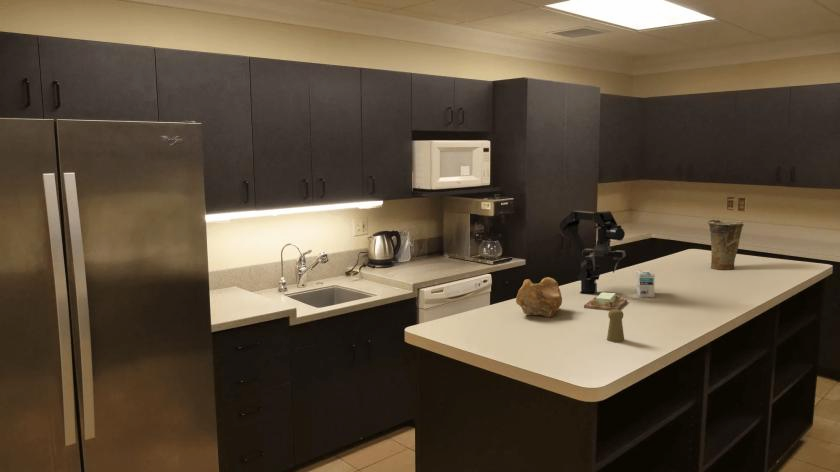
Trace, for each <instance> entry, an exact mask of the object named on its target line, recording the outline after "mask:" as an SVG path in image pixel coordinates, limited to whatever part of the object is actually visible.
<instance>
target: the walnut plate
mask: <svg viewBox="0 0 840 472" xmlns="http://www.w3.org/2000/svg"><path fill="white" fill-rule="evenodd" d="M600 294H601V293H600ZM600 294H598V296H599V295H600ZM596 297H597V296H595V297H594V298H592V299H590V300H589V301H588V302H586V303H585V304H584V305H583V307H584V309H592V310H600V311H601V310H603V311H608V312H609V311H610V310H614V309H617V310H621V308H622V307H623V306H625V305H626V304H627V303H628V299H625V298H623V299H622V298H621V294H620V295H619V294H616V300H615V301H614V302H613V301H611V302H605V306H604V305H598V301H596Z"/></svg>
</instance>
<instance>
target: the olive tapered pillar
mask: <svg viewBox="0 0 840 472" xmlns="http://www.w3.org/2000/svg"><path fill="white" fill-rule="evenodd" d="M607 313H608V314H607V315H608V318H609V322H608V323H609V324H608V328H607V329H608V330H607V336H606V341H607V342H611V343H623V342H625V333H624V328H623V327H624V326H623V318H624V312H623V310H621V309H619V310H617V309H614V310H610V311H609V310H608V312H607Z"/></svg>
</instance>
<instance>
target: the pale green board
mask: <svg viewBox="0 0 840 472" xmlns="http://www.w3.org/2000/svg"><path fill="white" fill-rule="evenodd" d="M616 295H617V293H614V292H613V293H612V292H600V295H599V294H598V296H595V297H596V301H598V305H604V306H605V302H611V301H613V302H614V301H615V300H616Z"/></svg>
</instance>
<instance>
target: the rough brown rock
mask: <svg viewBox="0 0 840 472" xmlns="http://www.w3.org/2000/svg"><path fill="white" fill-rule="evenodd" d="M515 301H516V302H515V303H516V305H518V306H519V307H521V309H522V312H523V314H524V315H525V314H527V315H526V316H530V315H531V316H532V315H533V316H540V315H541V316H543V317H546V318H549V317H550V318H552V317H553V316H555V314H556V313H557V311H558V309H559V308H560V307H561V306H562V304H563V297H562V293H561V288H559V284H558V281H556V279H554V278H552V277H549V276H547V277H544V278H542V279H541V281H540V282H539V283H533V282H532V280H531V279H529V278H528V279H524V280H523V283H522V286H521V287H520V288H519V289H518V291H517V295H516V298H515ZM550 318H549V319H550Z"/></svg>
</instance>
